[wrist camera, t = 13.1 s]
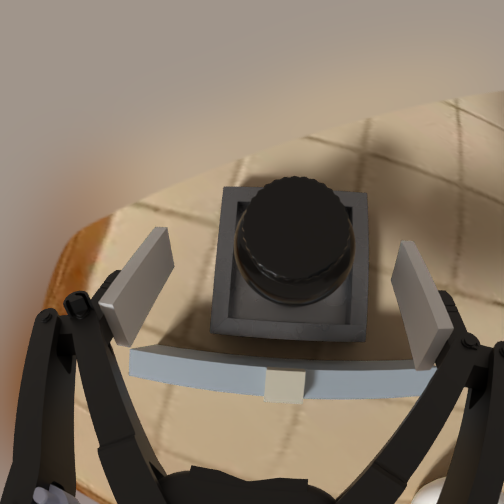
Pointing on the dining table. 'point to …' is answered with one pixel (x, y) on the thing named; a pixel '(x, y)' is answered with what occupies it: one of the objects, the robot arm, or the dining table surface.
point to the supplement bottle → (294, 242)
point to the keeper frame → (283, 318)
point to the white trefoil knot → (436, 493)
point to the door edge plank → (279, 375)
